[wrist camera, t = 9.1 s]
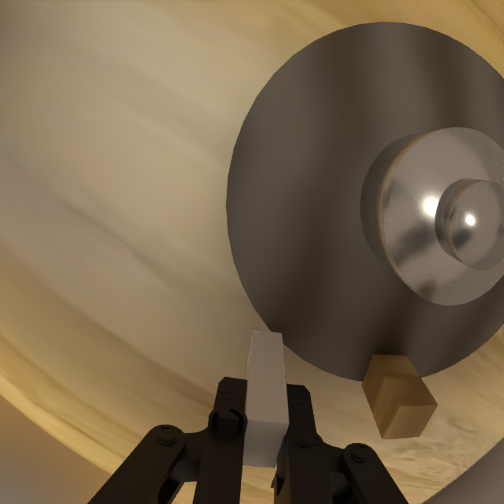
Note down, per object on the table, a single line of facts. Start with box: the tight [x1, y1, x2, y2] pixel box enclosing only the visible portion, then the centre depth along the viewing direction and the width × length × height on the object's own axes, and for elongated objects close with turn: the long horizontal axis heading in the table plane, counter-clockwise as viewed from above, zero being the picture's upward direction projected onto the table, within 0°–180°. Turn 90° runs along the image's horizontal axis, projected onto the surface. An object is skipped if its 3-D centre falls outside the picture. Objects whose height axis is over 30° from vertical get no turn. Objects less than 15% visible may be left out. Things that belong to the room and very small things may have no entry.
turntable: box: [226, 22, 504, 439], centre depth 14 cm, size 22×22×7 cm
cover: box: [360, 127, 504, 306], centre depth 13 cm, size 8×8×6 cm
